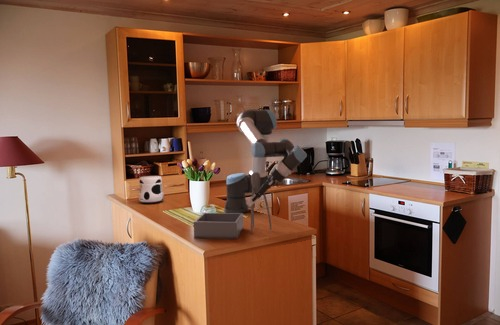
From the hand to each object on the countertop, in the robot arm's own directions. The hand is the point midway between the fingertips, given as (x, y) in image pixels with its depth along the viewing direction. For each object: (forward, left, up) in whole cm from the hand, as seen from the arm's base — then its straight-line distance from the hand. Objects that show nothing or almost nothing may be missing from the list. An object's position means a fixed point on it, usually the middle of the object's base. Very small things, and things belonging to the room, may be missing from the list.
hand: (249, 202), depth 213 cm
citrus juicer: (0, +4, -15) cm, 15 cm away
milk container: (-73, -80, -15) cm, 109 cm away
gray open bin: (+5, -15, -15) cm, 21 cm away
